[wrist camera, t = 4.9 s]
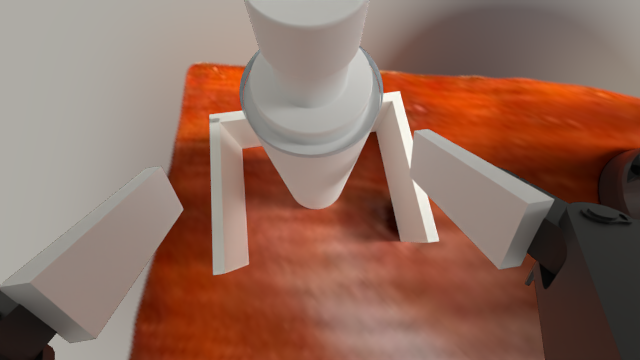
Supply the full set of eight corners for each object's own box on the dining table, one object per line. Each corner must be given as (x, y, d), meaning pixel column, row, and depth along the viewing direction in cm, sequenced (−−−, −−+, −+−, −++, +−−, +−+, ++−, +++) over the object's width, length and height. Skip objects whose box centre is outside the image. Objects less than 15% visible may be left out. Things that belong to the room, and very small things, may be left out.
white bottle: (311, 220, 27) (260, 87, 3) (279, 179, 29) (66, -139, 4) (353, 187, 28) (548, -102, 4) (320, 148, 30) (326, -241, 6)
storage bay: (381, 123, 31) (399, 91, 24) (408, 240, 27) (439, 240, 20) (234, 142, 30) (209, 114, 23) (240, 265, 26) (213, 275, 19)
